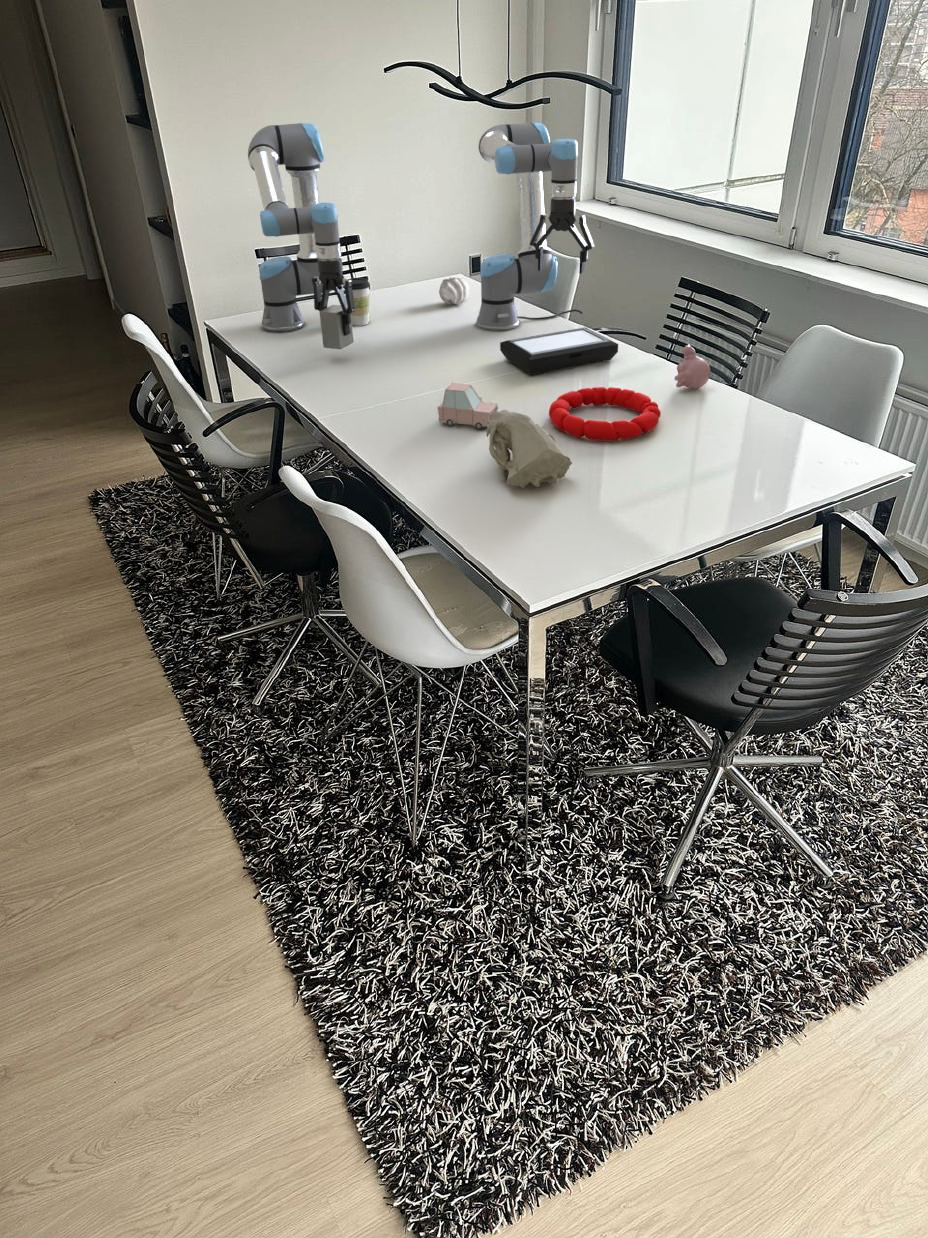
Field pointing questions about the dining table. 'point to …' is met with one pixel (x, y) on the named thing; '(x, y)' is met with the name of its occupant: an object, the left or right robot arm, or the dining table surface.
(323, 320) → the block
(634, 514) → the dining table surface
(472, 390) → the toy car
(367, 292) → the coffee cup
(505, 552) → the dining table surface
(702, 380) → the figurine
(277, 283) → the left robot arm
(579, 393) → the decorative ring
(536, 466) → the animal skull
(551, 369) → the electronic device
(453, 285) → the seashell
